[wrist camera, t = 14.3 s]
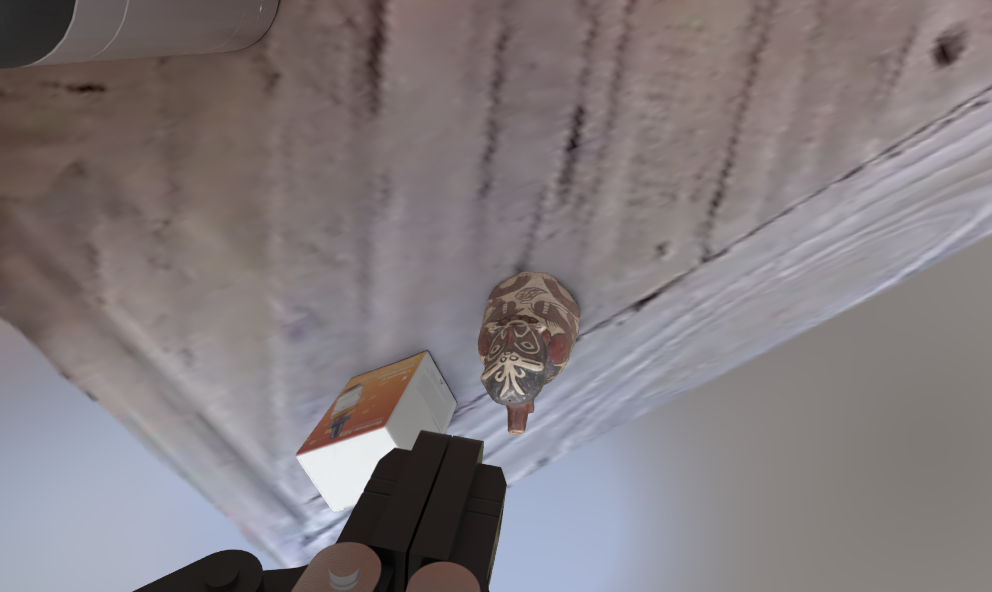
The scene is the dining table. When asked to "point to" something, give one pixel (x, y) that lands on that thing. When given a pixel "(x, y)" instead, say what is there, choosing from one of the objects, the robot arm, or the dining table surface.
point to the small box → (374, 426)
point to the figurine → (525, 341)
